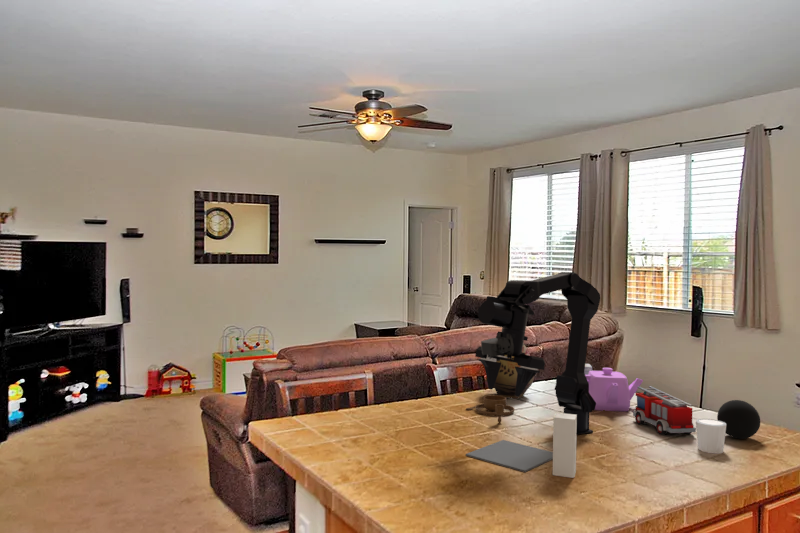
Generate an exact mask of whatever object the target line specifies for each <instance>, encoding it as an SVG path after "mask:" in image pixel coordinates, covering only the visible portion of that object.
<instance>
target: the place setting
mask: <svg viewBox="0 0 800 533" xmlns="http://www.w3.org/2000/svg"><path fill="white" fill-rule="evenodd" d="M473 409H475V411H476V412H477V413H478V414H480V415H484V416H490V417H498V418H497V426H498V425H499V426H500V425H502V417H505V416H506V417H507V416H511V415H513V414H514V413H515V407H514V406H511V405H508V404H507V398H506V397H503V396H498V395H496V394H495V395H494V394H493V395H492V394H489V395H485V396H483V403H480V404H476V405H474V406H472V407H466V408H465V410H466V411H471V410H473ZM482 409H485V410H486V411H485V410H482ZM513 420H517V419H515V418H513Z"/></svg>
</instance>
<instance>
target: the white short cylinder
mask: <svg viewBox="0 0 800 533" xmlns="http://www.w3.org/2000/svg"><path fill="white" fill-rule="evenodd" d="M695 428H696V439H697V440H696V442H697V449H698V450H699V451H700V452H701V451H702V452H704V453H706V454H707V453H709V454H722V453H724V449H725V440H726V433H725V432H726V423H725V422H722V421H718V420H717V419H710V418H698V419H695Z"/></svg>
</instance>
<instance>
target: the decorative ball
mask: <svg viewBox="0 0 800 533" xmlns="http://www.w3.org/2000/svg"><path fill="white" fill-rule="evenodd" d="M716 416H717V417H716V420H718V421H722V422H725V423H726V432H725V435H728V436H729V437H731V438H734V439H739V440H743V439H744V440H745V439H749V438H751V437H753V436H755V435H756V434H757V433H758V431H759V430H760V426H761V417H760V414H759V412H758V410H757V409H756V407H754V406H753V405H752V404H751V403H749V402H748V401H747V402H746V401H745V400H740V399H734V400H729V401H727V402H724V403H723V404H722V405H721V406H720V407H719V409H718V411H717V415H716Z"/></svg>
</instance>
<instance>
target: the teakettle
mask: <svg viewBox="0 0 800 533" xmlns="http://www.w3.org/2000/svg"><path fill="white" fill-rule="evenodd" d="M613 370H614V369H613V368H611V367H602V370H592V371H589V373H588V375H585V376H586V378H587V381H588V383H589V394H590V395H591V396H592V398H593V399H594V401H595V402H596V406H595V410H594V411H603V410H605V411H607V412H608V411H609V412H629V410H630V407H631V400H632V399H633V397H634V396H635V395H636V393H637V391H638V390H639V388H637V387H639V386H640V387H641V385H642V383H643V382H644V380H643V379H641V378H637V377H636V379H635V380H633V381H632V383H630V384H629V380H628V378H627V376H626V375H625V374H624V373H622V372H620V371H613ZM605 411H604V412H605Z"/></svg>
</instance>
